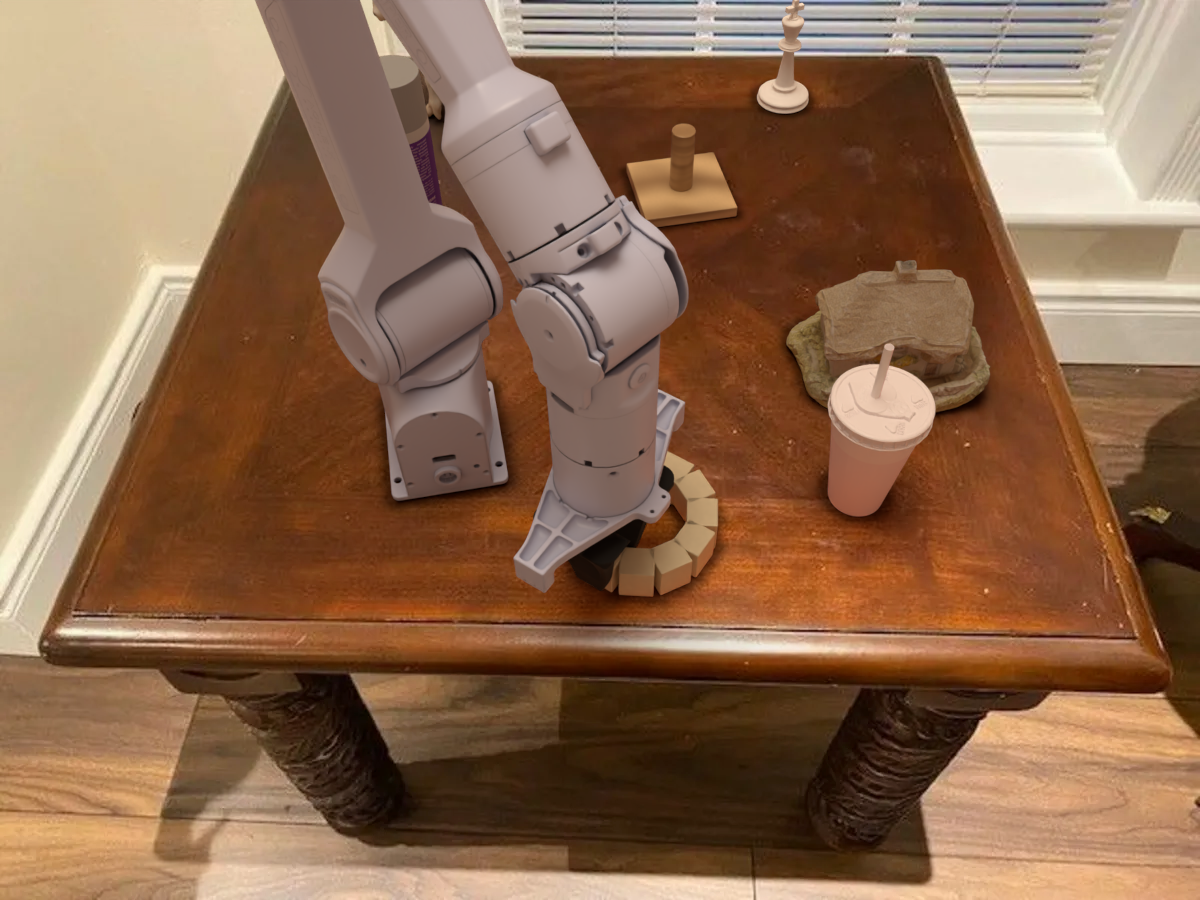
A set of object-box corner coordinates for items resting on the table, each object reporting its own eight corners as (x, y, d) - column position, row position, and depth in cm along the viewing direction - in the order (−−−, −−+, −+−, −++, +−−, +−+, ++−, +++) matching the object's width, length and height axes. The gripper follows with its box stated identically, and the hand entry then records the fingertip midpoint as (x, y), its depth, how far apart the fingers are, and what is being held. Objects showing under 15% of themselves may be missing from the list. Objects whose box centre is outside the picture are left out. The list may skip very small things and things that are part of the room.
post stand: (736, 216, 89) (743, 152, 84) (645, 229, 88) (647, 165, 83) (712, 161, 94) (718, 97, 88) (626, 172, 93) (626, 108, 88)
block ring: (734, 582, 66) (738, 560, 64) (577, 610, 65) (576, 589, 63) (695, 459, 72) (697, 436, 70) (552, 482, 71) (549, 459, 69)
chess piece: (747, 92, 100) (757, -8, 92) (791, 79, 101) (805, -20, 94) (773, 119, 97) (786, 18, 90) (818, 105, 99) (835, 5, 91)
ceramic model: (794, 421, 74) (814, 321, 67) (781, 312, 81) (798, 210, 74) (991, 423, 74) (1035, 323, 66) (962, 313, 81) (998, 211, 73)
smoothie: (839, 442, 73) (877, 297, 62) (920, 488, 71) (975, 344, 60) (789, 500, 70) (820, 358, 59) (872, 550, 68) (920, 411, 57)
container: (451, 213, 90) (426, 55, 78) (439, 249, 87) (412, 92, 75) (398, 209, 90) (366, 51, 78) (384, 245, 87) (349, 87, 75)
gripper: (587, 557, 50) (593, 682, 61) (736, 372, 57) (718, 512, 68) (473, 492, 52) (498, 622, 63) (629, 322, 60) (628, 465, 70)
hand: (606, 562), depth 66 cm, fingers closed on block ring, 2 cm apart
